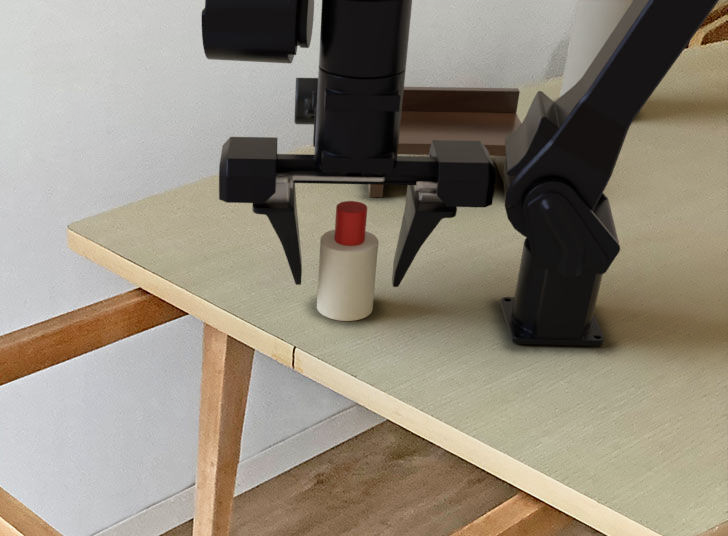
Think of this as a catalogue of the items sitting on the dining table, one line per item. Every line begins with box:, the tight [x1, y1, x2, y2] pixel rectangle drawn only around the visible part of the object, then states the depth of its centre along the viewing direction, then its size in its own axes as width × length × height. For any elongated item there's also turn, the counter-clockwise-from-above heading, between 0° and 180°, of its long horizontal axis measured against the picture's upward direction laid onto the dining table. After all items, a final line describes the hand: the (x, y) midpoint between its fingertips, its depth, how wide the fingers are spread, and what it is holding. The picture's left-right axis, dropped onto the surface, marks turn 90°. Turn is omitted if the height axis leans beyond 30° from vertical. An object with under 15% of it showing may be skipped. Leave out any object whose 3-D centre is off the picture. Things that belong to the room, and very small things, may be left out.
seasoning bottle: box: [316, 200, 379, 322], centre depth 79 cm, size 4×4×8 cm
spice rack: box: [367, 86, 522, 198], centre depth 100 cm, size 10×14×7 cm
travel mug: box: [558, 0, 633, 99], centre depth 113 cm, size 8×8×18 cm
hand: (346, 283), depth 80 cm, fingers open, 7 cm apart
